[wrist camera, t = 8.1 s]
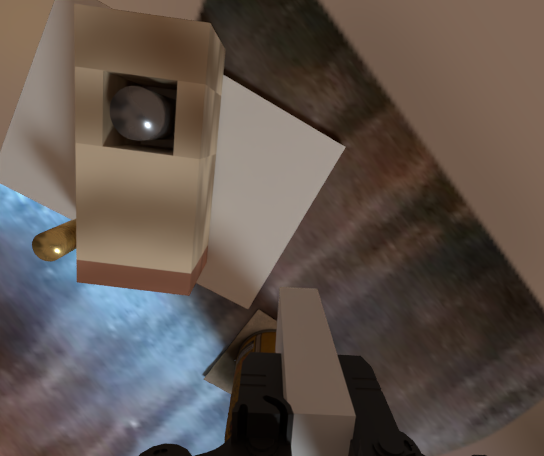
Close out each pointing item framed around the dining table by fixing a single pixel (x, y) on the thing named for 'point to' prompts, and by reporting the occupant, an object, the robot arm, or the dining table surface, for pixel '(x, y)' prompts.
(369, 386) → the robot arm
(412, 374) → the dining table surface
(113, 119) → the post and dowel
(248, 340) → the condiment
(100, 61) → the beige block with hole
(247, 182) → the base board
